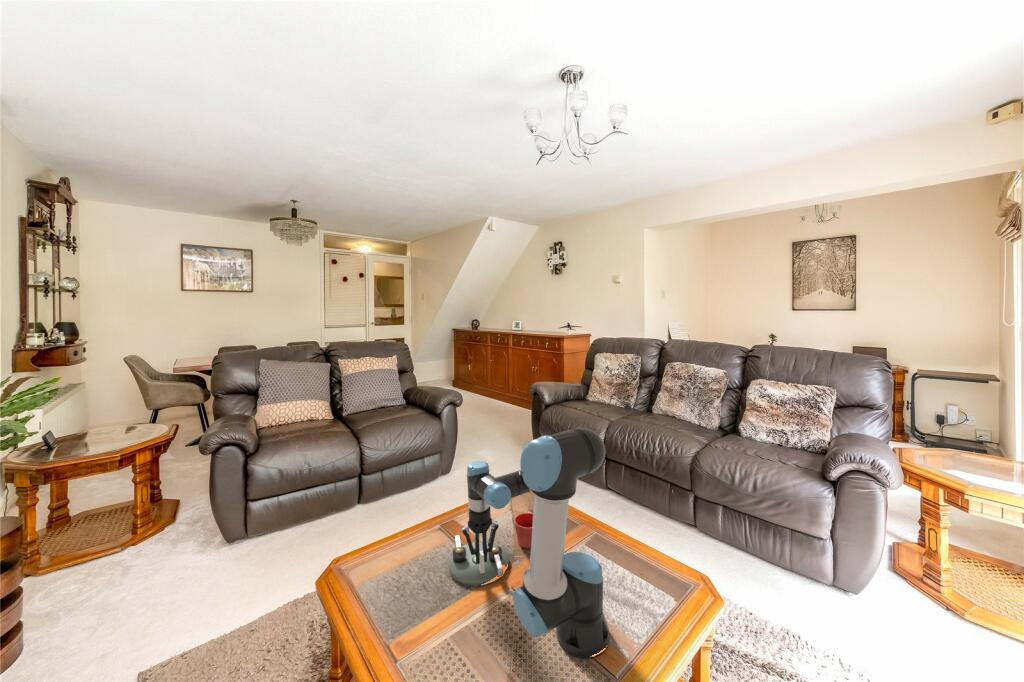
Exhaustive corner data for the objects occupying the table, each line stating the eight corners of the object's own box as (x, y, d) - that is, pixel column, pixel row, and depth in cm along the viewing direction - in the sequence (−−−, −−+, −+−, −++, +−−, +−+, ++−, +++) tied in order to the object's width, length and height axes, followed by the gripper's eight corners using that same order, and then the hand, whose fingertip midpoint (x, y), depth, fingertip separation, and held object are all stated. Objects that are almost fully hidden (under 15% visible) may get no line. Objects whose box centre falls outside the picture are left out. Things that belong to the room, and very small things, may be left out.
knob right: (487, 554, 146) (487, 545, 146) (500, 552, 147) (500, 543, 147) (493, 577, 134) (493, 567, 134) (507, 574, 135) (507, 565, 135)
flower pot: (541, 534, 161) (541, 512, 160) (541, 551, 150) (540, 528, 149) (516, 534, 162) (515, 512, 161) (513, 550, 151) (513, 527, 150)
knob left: (467, 561, 142) (466, 552, 142) (453, 563, 141) (452, 554, 141) (463, 541, 155) (463, 532, 154) (451, 543, 153) (450, 534, 153)
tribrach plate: (514, 579, 136) (514, 573, 136) (451, 591, 131) (451, 585, 131) (502, 542, 157) (502, 536, 157) (447, 551, 152) (447, 545, 152)
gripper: (495, 498, 139) (498, 560, 141) (459, 503, 136) (462, 566, 138) (500, 509, 131) (502, 574, 134) (461, 515, 128) (464, 581, 131)
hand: (481, 570), depth 136 cm, fingers closed
